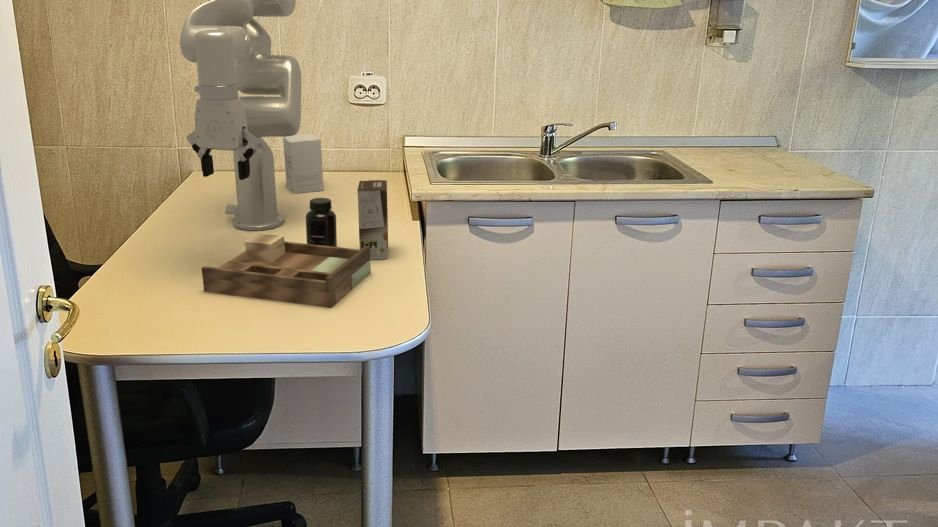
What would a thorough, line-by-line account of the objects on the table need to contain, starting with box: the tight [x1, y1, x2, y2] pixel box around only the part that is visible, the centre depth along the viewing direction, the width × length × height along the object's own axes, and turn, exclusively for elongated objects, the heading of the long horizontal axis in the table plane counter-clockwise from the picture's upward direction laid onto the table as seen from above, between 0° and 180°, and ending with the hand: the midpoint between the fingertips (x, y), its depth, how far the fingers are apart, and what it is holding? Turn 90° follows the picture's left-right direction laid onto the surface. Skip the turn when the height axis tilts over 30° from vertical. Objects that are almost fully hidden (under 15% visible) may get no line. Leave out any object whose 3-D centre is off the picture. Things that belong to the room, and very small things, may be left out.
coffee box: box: [357, 179, 389, 260], centre depth 195 cm, size 9×6×16 cm
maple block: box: [244, 232, 286, 262], centre depth 185 cm, size 6×6×4 cm
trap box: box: [201, 240, 372, 308], centre depth 179 cm, size 28×20×6 cm
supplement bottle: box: [305, 197, 338, 247], centre depth 197 cm, size 7×7×12 cm
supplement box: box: [282, 133, 325, 195], centre depth 247 cm, size 9×9×15 cm
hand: (226, 176), depth 182 cm, fingers open, 7 cm apart
